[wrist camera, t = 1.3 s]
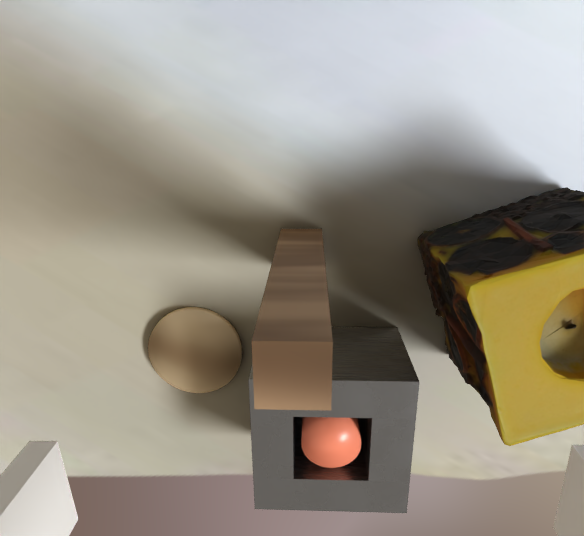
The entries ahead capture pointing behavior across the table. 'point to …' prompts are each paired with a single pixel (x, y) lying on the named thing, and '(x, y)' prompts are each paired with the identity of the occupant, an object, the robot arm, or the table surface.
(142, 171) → the table surface
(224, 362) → the coaster
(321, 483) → the box
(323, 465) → the orange ball
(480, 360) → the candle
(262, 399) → the dowel
